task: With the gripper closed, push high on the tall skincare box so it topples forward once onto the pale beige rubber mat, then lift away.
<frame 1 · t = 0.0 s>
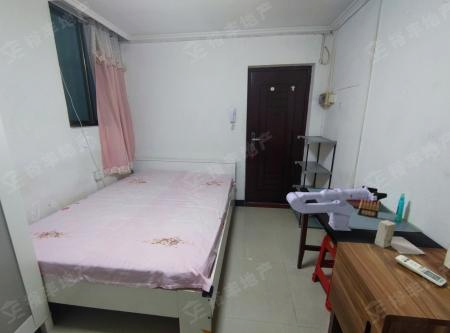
hand: (381, 192, 118), 22 cm above the table, tool horizontal, fingers open, 7 cm apart
ammunition clip: (367, 216, 139), on the table
book: (352, 203, 159), on the table
skincare box: (382, 244, 108), on the table
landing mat: (401, 245, 108), on the table
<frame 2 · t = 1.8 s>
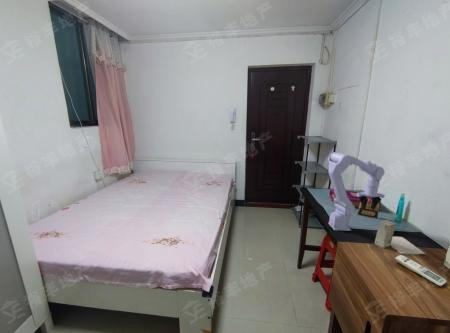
hand: (367, 208, 125), 10 cm above the table, tool pointing down, fingers open, 5 cm apart
nothing on the table moved.
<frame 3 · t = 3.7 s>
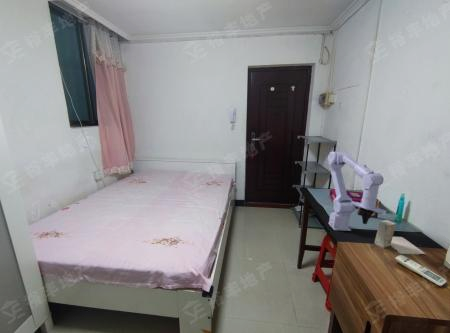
hand: (364, 223, 107), 10 cm above the table, tool pointing down, fingers closed
nothing on the table moved.
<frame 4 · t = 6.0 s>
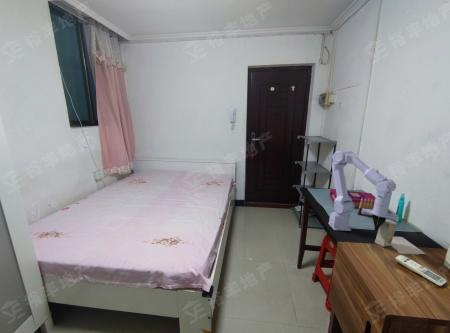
hand: (376, 230, 106), 8 cm above the table, tool pointing down, fingers closed
skincare box: (382, 244, 108), on the table, touching gripper
everything else where it was.
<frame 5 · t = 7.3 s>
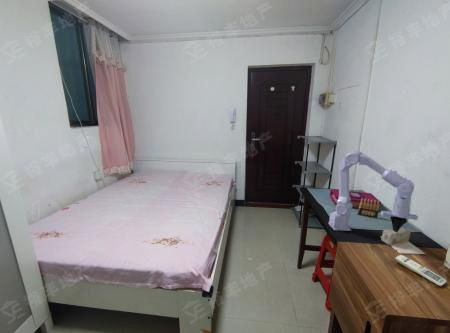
hand: (395, 230, 106), 8 cm above the table, tool pointing down, fingers closed
skincare box: (385, 237, 108), point 4 cm above the table, touching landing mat
everything else where it was.
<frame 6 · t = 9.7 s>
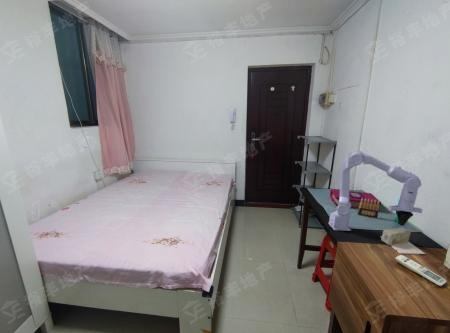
hand: (400, 224, 107), 10 cm above the table, tool pointing down, fingers closed
nothing on the table moved.
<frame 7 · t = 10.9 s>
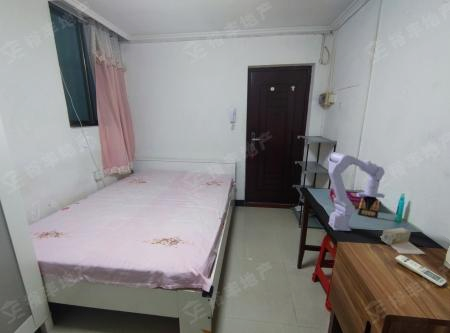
hand: (367, 208, 125), 10 cm above the table, tool pointing down, fingers closed
nothing on the table moved.
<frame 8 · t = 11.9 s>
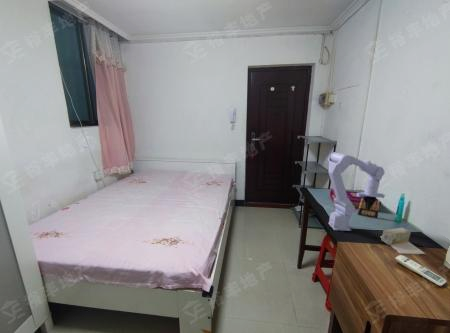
hand: (367, 208, 125), 10 cm above the table, tool pointing down, fingers closed
nothing on the table moved.
at the end: skincare box tilted 89°; skincare box touching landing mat; skincare box inside the target area (3.7 cm from its centre), point 3.5 cm above the table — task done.
